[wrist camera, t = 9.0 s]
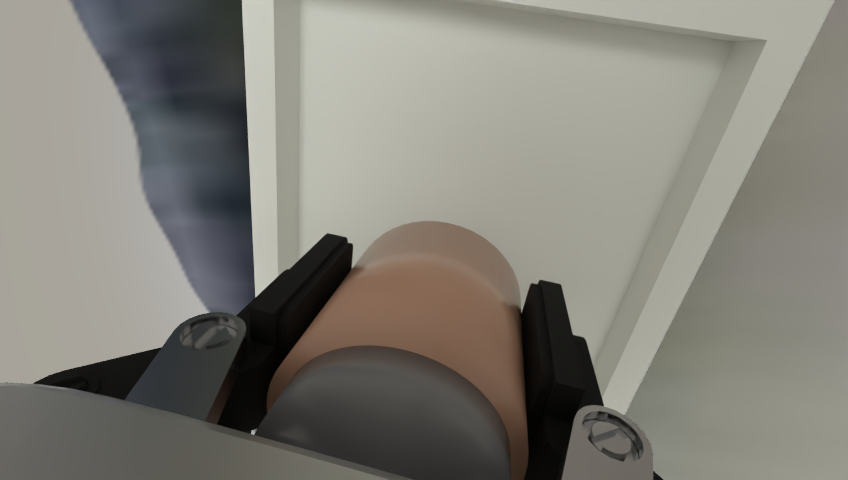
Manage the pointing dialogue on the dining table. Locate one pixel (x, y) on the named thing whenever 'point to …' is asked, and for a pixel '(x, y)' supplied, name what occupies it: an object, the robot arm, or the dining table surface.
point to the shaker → (412, 363)
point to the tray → (522, 138)
